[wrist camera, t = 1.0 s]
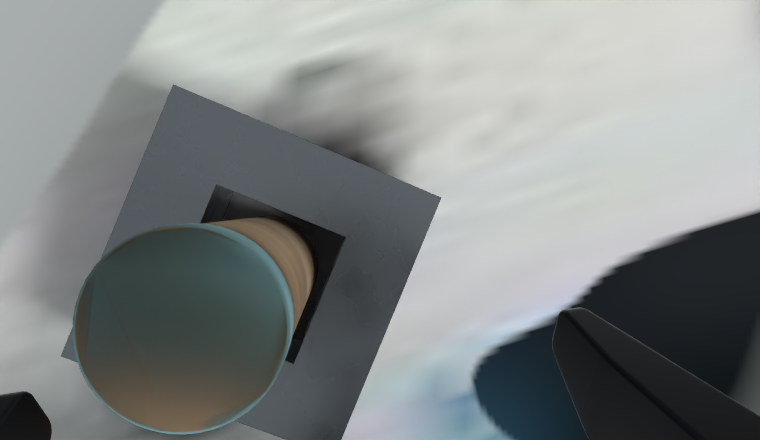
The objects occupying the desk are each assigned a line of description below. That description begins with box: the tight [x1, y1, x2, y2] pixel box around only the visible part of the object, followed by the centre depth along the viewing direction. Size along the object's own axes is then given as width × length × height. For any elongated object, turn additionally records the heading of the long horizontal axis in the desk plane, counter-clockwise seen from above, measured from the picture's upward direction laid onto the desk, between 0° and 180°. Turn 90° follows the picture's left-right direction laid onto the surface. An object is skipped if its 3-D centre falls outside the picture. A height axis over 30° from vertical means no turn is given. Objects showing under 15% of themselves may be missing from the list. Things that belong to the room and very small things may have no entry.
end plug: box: [73, 216, 318, 435], centre depth 17 cm, size 5×5×12 cm
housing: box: [61, 85, 441, 440], centre depth 22 cm, size 12×12×4 cm
